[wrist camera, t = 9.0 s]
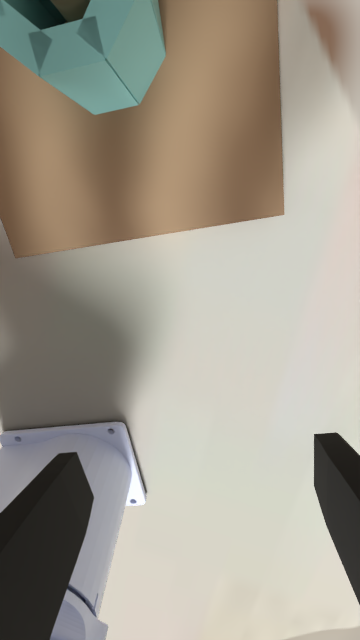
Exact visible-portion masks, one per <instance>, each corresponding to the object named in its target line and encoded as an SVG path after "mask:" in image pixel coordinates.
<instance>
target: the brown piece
mask: <svg viewBox="0 0 360 640" xmlns="http://www.w3.org/2000/svg"><path fill="white" fill-rule="evenodd" d="M51 2H52V3H53V4H54V5H55V7H56V8H57V9H58V10H59V12H60V13H61V14H62V15H63V17H64V18H65V19H66V21H65V23H69V22H73V21H77V20H80V19H83V17H84V14H85V12H86V10H87V7H88V5H89V3H90V0H51ZM158 4H159V10H160V17H161V24H162V30H163V37H164V44H165V51H166V54H165V55H166V57H165V58H164V60H163V62H162V64H161V66H160V68H159V70H158V71H157V73H156V75H155V77H154V79H153V81H152V83H151V84H150V86H149V88H148V90H147V92H146V94H145V96H144V97H143V99H142V101H141V103H140V104H139V103H138V104H139V105H137V106H132V107H128V108H124V109H119V110H115V111H110V112H106V113H101V114H97V115H94V114H92V113H91V112H89V111H88V110H86V109H85V108H83V107H82V106H81V105H79V104H78V103H76V102H75V101H73V100H72V99H70V98H69V97H68V96H66V95H65V94H63V93H62V92H60V91H59V90H57V89H56V88H55V87H53V86H52V85H50V84H49V83H47V82H46V81H44V80H43V79H42V78H40V77H39V76H37V75H36V74H35V73H33V72H32V71H31V70H30V69H28V68H27V67H26V66H24V65H23V64H22V63H21V62H19V61H18V60H17V59H15V58H14V57H13V56H12V55H10V54H9V53H8V52H6V51H5V50H4V49H3V48H1V47H0V217H1V220H2V223H3V226H4V228H5V231H6V234H7V237H8V239H9V242H10V245H11V247H12V250H13V253H14V256H15V258H21V257H27V256H33V255H39V254H45V253H51V252H58V251H64V250H70V249H76V248H82V247H88V246H94V245H101V244H107V243H113V242H119V241H125V240H131V239H138V238H144V237H150V236H156V235H162V234H168V233H175V232H181V231H187V230H193V229H199V228H205V227H212V226H218V225H224V224H230V223H236V222H242V221H249V220H255V219H261V218H267V217H273V216H279V215H284V192H283V162H282V133H281V103H280V73H279V43H278V13H277V0H158Z"/></svg>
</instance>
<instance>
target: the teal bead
mask: <svg viewBox="0 0 360 640" xmlns="http://www.w3.org/2000/svg"><path fill="white" fill-rule="evenodd" d="M65 21H66V19H65V18H64V17H63V15H62V14H61V13H60V12H59V10H58V9H57V8H56V7H55V5H54V4H53V3H52V2H51V0H0V47H1V48H3V49H4V50H5V51H6V52H8V53H9V54H10V55H12V56H13V57H14V58H15V59H17V60H18V61H19V62H21V63H22V64H23V65H24V66H26V67H27V68H28V69H30V70H31V71H32V72H33V73H35V74H36V75H37V76H39V77H40V78H42V79H43V80H44V81H46V82H47V83H49V84H50V85H52V86H53V87H55V88H56V89H57V90H59V91H60V92H62V93H63V94H65V95H66V96H68V97H69V98H70V99H72V100H73V101H75V102H76V103H78V104H79V105H81V106H82V107H83V108H85V109H86V110H88V111H89V112H91V113H92V114H94V115H97V114H101V113H106V112H110V111H115V110H119V109H124V108H128V107H132V106H137V105H139V104H140V103H141V101H142V99H143V97H144V96H145V94H146V92H147V90H148V88H149V86H150V84H151V83H152V81H153V79H154V77H155V75H156V73H157V71H158V70H159V68H160V66H161V64H162V62H163V60H164V58H165V57H166V55H165V54H166V51H165V44H164V37H163V30H162V24H161V17H160V10H159V4H158V0H90V3H89V5H88V7H87V10H86V12H85V14H84V17H83V19H80V20H77V21H73V22H69V23H65ZM138 103H139V104H138Z"/></svg>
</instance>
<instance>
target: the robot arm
mask: <svg viewBox="0 0 360 640" xmlns="http://www.w3.org/2000/svg"><path fill="white" fill-rule="evenodd" d="M110 428H111V429H113V430H111V429H110ZM0 442H1V444H2V446H3V447H2V448H1V449H0V640H105V639H106V635H107V630H108V625H107V624H105V623H103V622H101V621H100V620H98V615H99V611H100V607H101V603H102V599H103V595H104V591H105V587H106V582H107V578H108V574H109V570H110V566H111V562H112V558H113V554H114V550H115V546H116V542H117V538H118V533H119V529H120V525H121V521H122V517H123V513H124V509H125V506H132V505H143V504H145V502H146V493H145V490H144V487H143V483H142V480H141V476H140V473H139V469H138V466H137V463H136V459H135V456H134V452H133V449H132V445H131V442H130V439H129V435H128V432H127V428H126V426H125V424H124V423H122V422H107V423H96V424H84V425H73V426H61V427H49V428H38V429H26V430H15V431H5V432H3V433H2V434H1V435H0ZM314 487H315V490H316V493H317V497H318V500H319V503H320V507H321V510H322V513H323V516H324V519H325V522H326V525H327V528H328V530H329V533H330V535H331V538H332V540H333V542H334V545H335V547H336V550H337V552H338V554H339V557H340V559H341V562H342V564H343V566H344V569H345V571H346V573H347V576H348V578H349V581H350V583H351V585H352V588H353V590H354V592H355V595H356V597H357V600H358V602H359V604H360V455H359V454H358V453H357V452H356V451H355V450H354V449H353V448H352V447H351V446H350V445H349V444H348V443H347V442H346V441H345V440H344V439H343V438H342V437H341V436H340V435H339V434H338V433H325V434H314Z"/></svg>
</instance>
